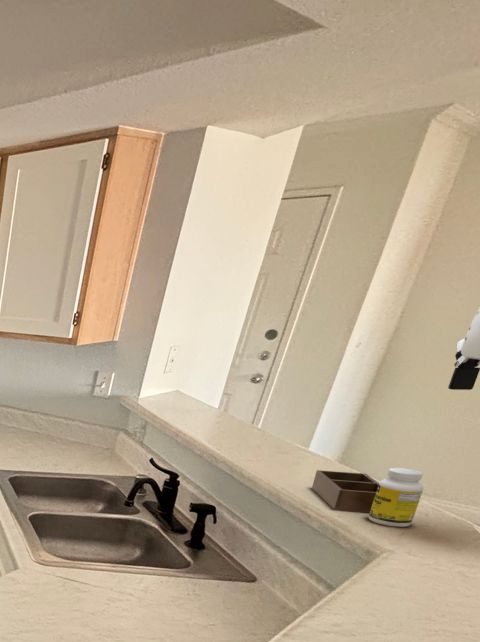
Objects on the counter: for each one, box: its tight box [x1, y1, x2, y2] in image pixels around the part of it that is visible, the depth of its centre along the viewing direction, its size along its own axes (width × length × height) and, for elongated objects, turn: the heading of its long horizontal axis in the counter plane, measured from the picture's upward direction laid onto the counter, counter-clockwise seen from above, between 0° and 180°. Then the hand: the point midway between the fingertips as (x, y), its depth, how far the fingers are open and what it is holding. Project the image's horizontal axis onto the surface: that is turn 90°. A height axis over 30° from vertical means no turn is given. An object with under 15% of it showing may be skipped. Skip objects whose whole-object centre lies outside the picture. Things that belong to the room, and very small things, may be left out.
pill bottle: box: [368, 467, 424, 528], centre depth 119 cm, size 6×6×11 cm
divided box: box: [311, 469, 380, 514], centre depth 133 cm, size 9×17×5 cm, turn 151°
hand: (479, 393), depth 105 cm, fingers open, 9 cm apart
